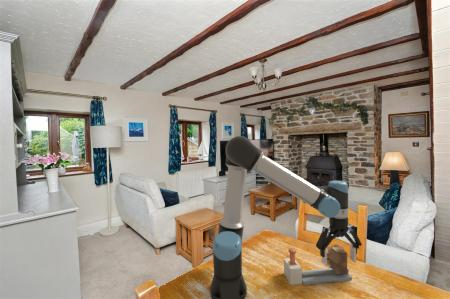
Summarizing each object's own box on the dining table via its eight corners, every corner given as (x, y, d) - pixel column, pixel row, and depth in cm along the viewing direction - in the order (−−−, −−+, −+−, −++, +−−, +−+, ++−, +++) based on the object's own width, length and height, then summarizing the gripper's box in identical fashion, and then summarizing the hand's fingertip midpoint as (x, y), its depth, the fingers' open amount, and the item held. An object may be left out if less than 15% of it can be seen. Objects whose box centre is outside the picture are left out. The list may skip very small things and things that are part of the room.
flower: (345, 253, 112) (335, 239, 113) (354, 259, 103) (343, 245, 104) (330, 263, 112) (320, 250, 113) (338, 271, 103) (327, 256, 104)
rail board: (303, 284, 92) (303, 277, 92) (296, 274, 99) (296, 267, 99) (351, 279, 94) (352, 273, 94) (341, 269, 101) (341, 263, 101)
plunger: (290, 265, 94) (290, 252, 93) (287, 260, 97) (287, 248, 97) (297, 264, 94) (297, 251, 94) (294, 260, 97) (294, 247, 97)
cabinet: (290, 284, 92) (290, 269, 91) (283, 273, 100) (283, 258, 99) (302, 283, 92) (301, 268, 92) (294, 272, 100) (294, 257, 100)
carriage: (336, 273, 94) (336, 252, 93) (329, 266, 99) (329, 246, 98) (347, 272, 94) (347, 251, 94) (340, 265, 99) (340, 245, 99)
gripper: (316, 221, 90) (316, 269, 92) (371, 217, 92) (371, 264, 94) (307, 214, 98) (308, 259, 99) (358, 211, 100) (358, 254, 101)
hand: (338, 262), depth 96 cm, fingers open, 13 cm apart
